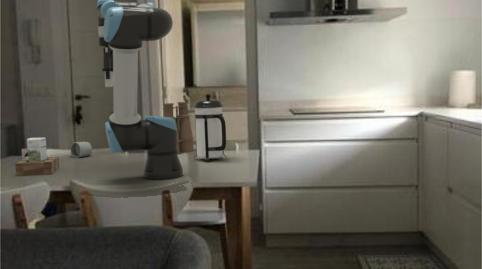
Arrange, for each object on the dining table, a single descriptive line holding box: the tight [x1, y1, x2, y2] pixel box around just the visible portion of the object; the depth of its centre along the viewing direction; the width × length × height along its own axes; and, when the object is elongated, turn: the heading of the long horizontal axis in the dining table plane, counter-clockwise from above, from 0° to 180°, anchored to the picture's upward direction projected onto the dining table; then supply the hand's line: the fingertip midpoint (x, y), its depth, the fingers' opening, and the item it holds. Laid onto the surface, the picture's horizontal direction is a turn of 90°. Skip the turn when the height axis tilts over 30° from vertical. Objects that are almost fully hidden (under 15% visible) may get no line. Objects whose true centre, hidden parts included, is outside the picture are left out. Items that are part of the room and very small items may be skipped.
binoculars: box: [162, 101, 195, 155], centre depth 270 cm, size 21×10×25 cm, turn 145°
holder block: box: [14, 156, 60, 177], centre depth 227 cm, size 14×14×5 cm
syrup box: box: [26, 136, 48, 162], centre depth 227 cm, size 6×6×14 cm
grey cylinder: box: [70, 141, 93, 159], centre depth 268 cm, size 11×8×8 cm
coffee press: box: [193, 93, 227, 163], centre depth 243 cm, size 17×16×30 cm
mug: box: [21, 147, 28, 160], centre depth 253 cm, size 10×7×7 cm, turn 129°
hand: (110, 86), depth 234 cm, fingers open, 13 cm apart
